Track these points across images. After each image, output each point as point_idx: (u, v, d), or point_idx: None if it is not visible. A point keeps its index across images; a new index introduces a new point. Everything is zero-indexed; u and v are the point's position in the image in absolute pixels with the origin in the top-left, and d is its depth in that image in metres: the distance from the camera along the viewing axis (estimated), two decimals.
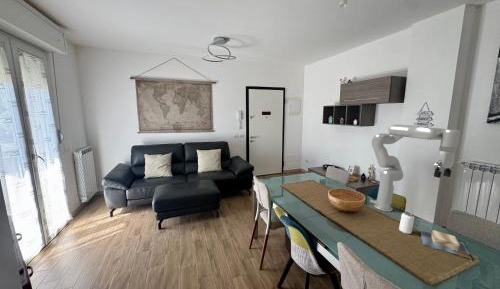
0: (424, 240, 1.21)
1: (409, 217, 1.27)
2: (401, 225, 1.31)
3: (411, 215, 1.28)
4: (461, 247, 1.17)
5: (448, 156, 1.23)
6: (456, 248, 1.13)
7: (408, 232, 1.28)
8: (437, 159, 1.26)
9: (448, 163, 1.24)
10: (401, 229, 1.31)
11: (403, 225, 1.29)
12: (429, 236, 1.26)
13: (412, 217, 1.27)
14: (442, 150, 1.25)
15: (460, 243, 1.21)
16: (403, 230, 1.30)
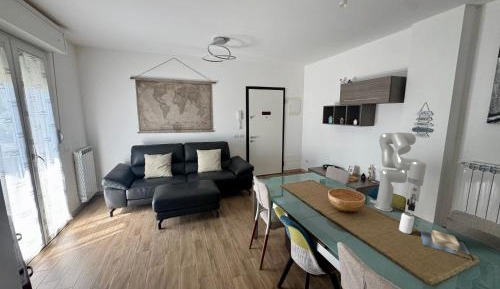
0: (424, 240, 1.21)
1: (409, 217, 1.27)
2: (401, 225, 1.31)
3: (411, 215, 1.28)
4: (461, 247, 1.17)
5: None
6: (456, 248, 1.13)
7: (408, 232, 1.28)
8: None
9: None
10: (401, 229, 1.31)
11: (403, 225, 1.29)
12: (429, 236, 1.26)
13: (412, 217, 1.27)
14: None
15: (460, 243, 1.21)
16: (403, 230, 1.30)
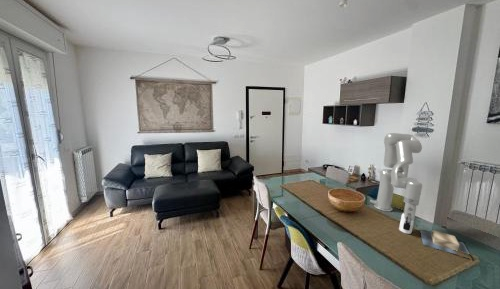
0: (424, 240, 1.21)
1: None
2: (401, 225, 1.31)
3: None
4: (461, 247, 1.17)
5: None
6: (456, 248, 1.13)
7: (408, 232, 1.28)
8: None
9: (404, 210, 1.32)
10: (401, 229, 1.31)
11: (403, 225, 1.29)
12: (429, 236, 1.26)
13: None
14: None
15: (460, 243, 1.21)
16: (403, 230, 1.30)
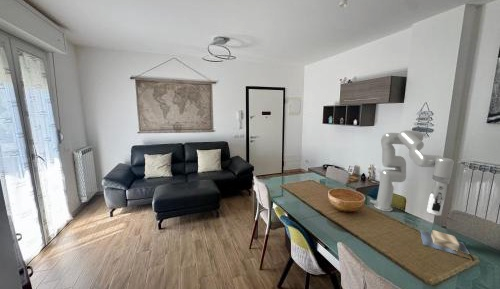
0: (424, 240, 1.21)
1: None
2: (429, 206, 1.21)
3: None
4: (461, 247, 1.17)
5: None
6: (456, 248, 1.13)
7: (438, 213, 1.18)
8: None
9: (432, 190, 1.22)
10: (429, 210, 1.21)
11: (432, 206, 1.20)
12: (429, 236, 1.26)
13: None
14: None
15: (460, 243, 1.21)
16: (431, 211, 1.20)
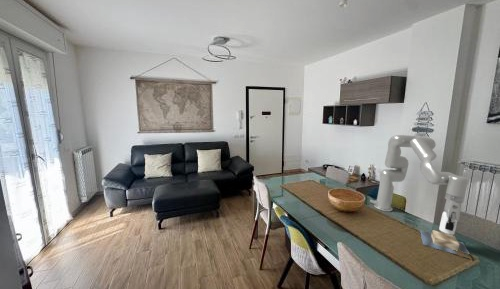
0: (424, 240, 1.21)
1: None
2: (442, 225, 1.18)
3: None
4: (461, 247, 1.17)
5: (446, 201, 1.20)
6: (456, 248, 1.13)
7: (451, 233, 1.15)
8: None
9: (445, 208, 1.19)
10: (442, 229, 1.18)
11: (445, 225, 1.17)
12: (429, 236, 1.26)
13: None
14: None
15: (460, 243, 1.21)
16: (445, 230, 1.17)
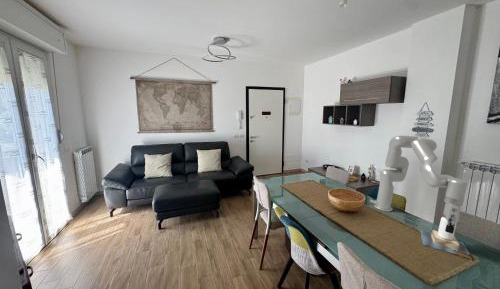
0: (424, 240, 1.21)
1: None
2: (441, 230, 1.18)
3: None
4: (461, 247, 1.17)
5: (445, 204, 1.20)
6: (456, 248, 1.13)
7: (449, 238, 1.16)
8: None
9: (444, 211, 1.20)
10: (441, 234, 1.18)
11: (443, 230, 1.17)
12: (429, 236, 1.26)
13: None
14: None
15: (460, 243, 1.21)
16: (443, 235, 1.17)
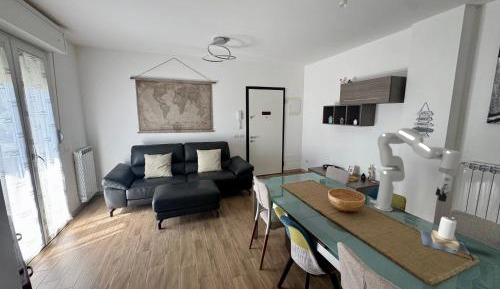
0: (424, 240, 1.21)
1: (451, 221, 1.15)
2: (441, 230, 1.18)
3: (453, 219, 1.16)
4: (461, 247, 1.17)
5: None
6: (456, 248, 1.13)
7: (449, 238, 1.16)
8: None
9: (438, 181, 1.25)
10: (441, 234, 1.18)
11: (443, 230, 1.17)
12: (429, 236, 1.26)
13: (455, 221, 1.15)
14: None
15: (460, 243, 1.21)
16: (443, 235, 1.17)
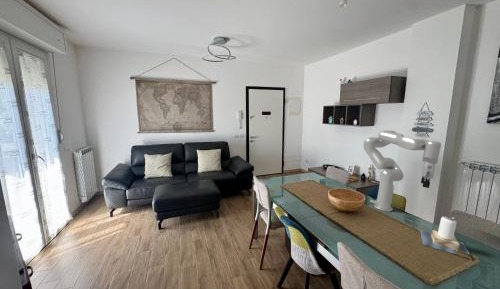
0: (424, 240, 1.21)
1: (451, 221, 1.15)
2: (441, 230, 1.18)
3: (453, 219, 1.16)
4: (461, 247, 1.17)
5: None
6: (456, 248, 1.13)
7: (449, 238, 1.16)
8: None
9: (422, 170, 1.37)
10: (441, 234, 1.18)
11: (443, 230, 1.17)
12: (429, 236, 1.26)
13: (454, 221, 1.15)
14: None
15: (460, 243, 1.21)
16: (443, 235, 1.17)
